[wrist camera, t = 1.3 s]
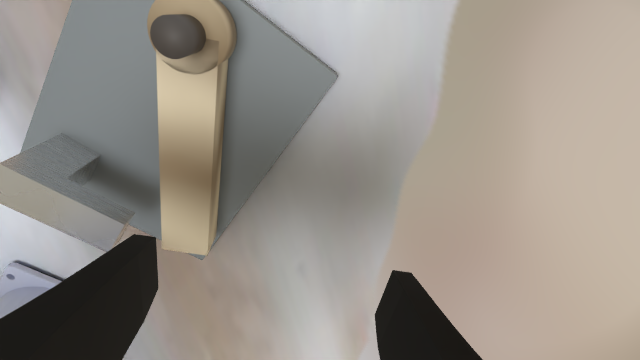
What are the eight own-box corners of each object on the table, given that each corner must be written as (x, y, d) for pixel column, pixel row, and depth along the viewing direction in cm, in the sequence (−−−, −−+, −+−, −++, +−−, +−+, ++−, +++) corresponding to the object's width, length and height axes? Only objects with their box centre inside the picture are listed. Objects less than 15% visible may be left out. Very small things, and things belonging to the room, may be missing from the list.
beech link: (165, -16, 13) (121, -24, 10) (239, 0, 13) (218, -2, 10) (169, 228, 19) (142, 269, 16) (221, 236, 19) (204, 277, 16)
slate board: (206, 249, 21) (202, 260, 20) (29, 160, 18) (14, 168, 17) (336, 73, 16) (338, 76, 15) (121, -96, 13) (107, -104, 12)
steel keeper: (144, 210, 19) (108, 252, 15) (50, 161, 17) (-12, 197, 14) (159, 185, 18) (124, 225, 15) (62, 132, 16) (-2, 163, 13)
